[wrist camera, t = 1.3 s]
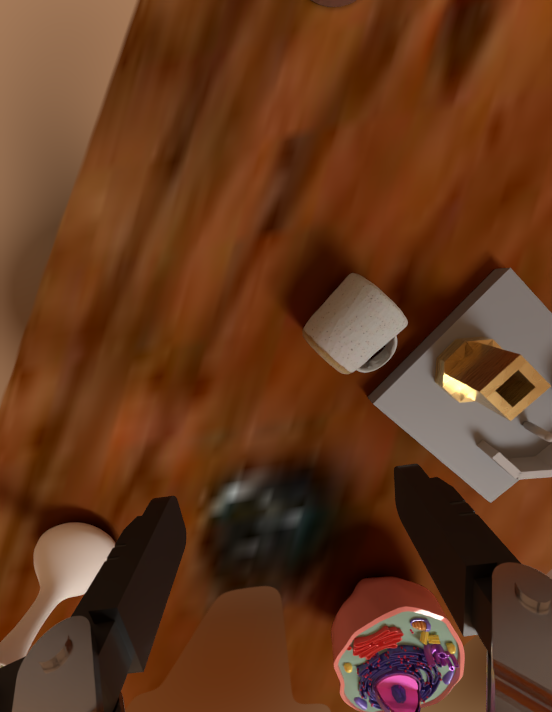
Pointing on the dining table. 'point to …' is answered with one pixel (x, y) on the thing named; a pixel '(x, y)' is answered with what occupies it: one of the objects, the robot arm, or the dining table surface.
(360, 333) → the ceramic mug
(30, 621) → the flower in vase
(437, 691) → the cell model
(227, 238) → the dining table surface
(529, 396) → the gold hollow block
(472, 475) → the carrier
